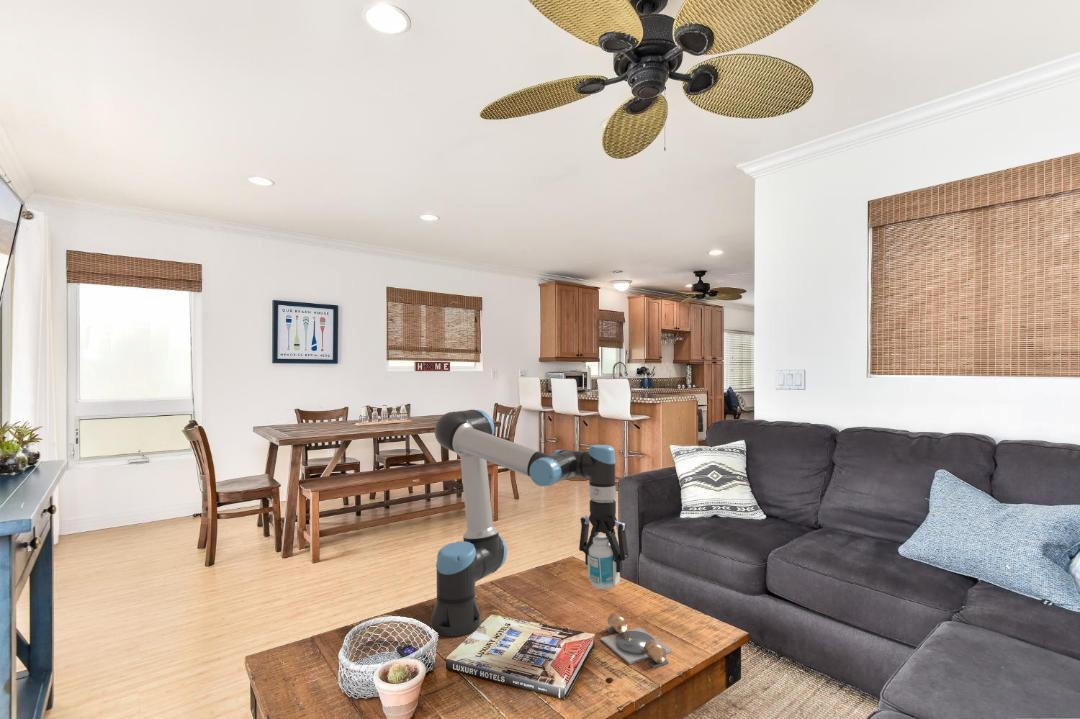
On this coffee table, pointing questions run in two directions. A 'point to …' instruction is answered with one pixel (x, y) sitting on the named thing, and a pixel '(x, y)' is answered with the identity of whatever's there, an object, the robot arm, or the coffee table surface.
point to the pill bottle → (601, 563)
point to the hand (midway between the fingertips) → (603, 579)
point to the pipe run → (634, 643)
